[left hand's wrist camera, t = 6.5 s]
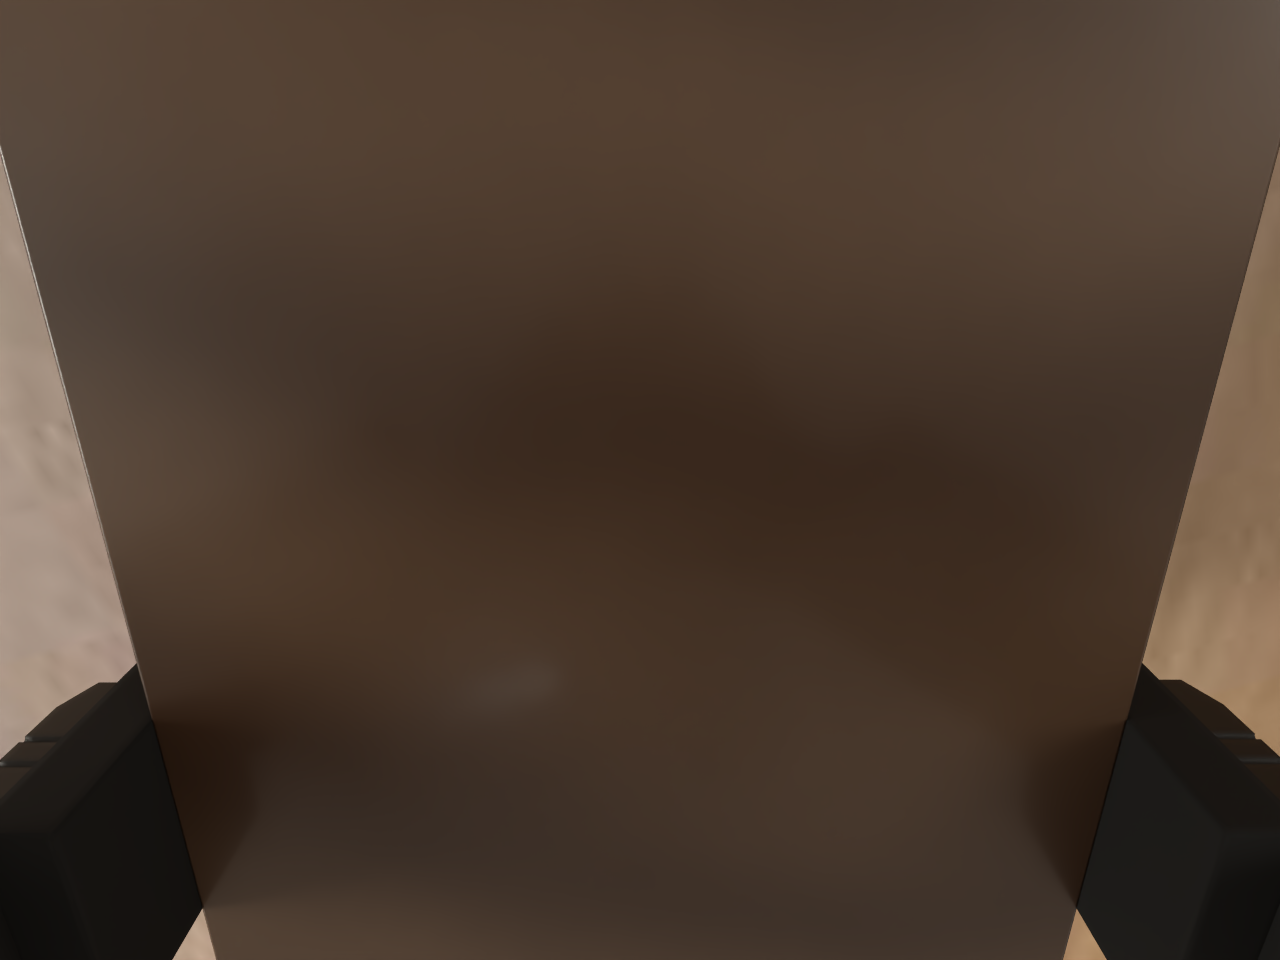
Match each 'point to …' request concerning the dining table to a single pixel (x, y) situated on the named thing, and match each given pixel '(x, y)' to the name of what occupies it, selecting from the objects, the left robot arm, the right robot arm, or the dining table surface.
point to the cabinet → (639, 444)
